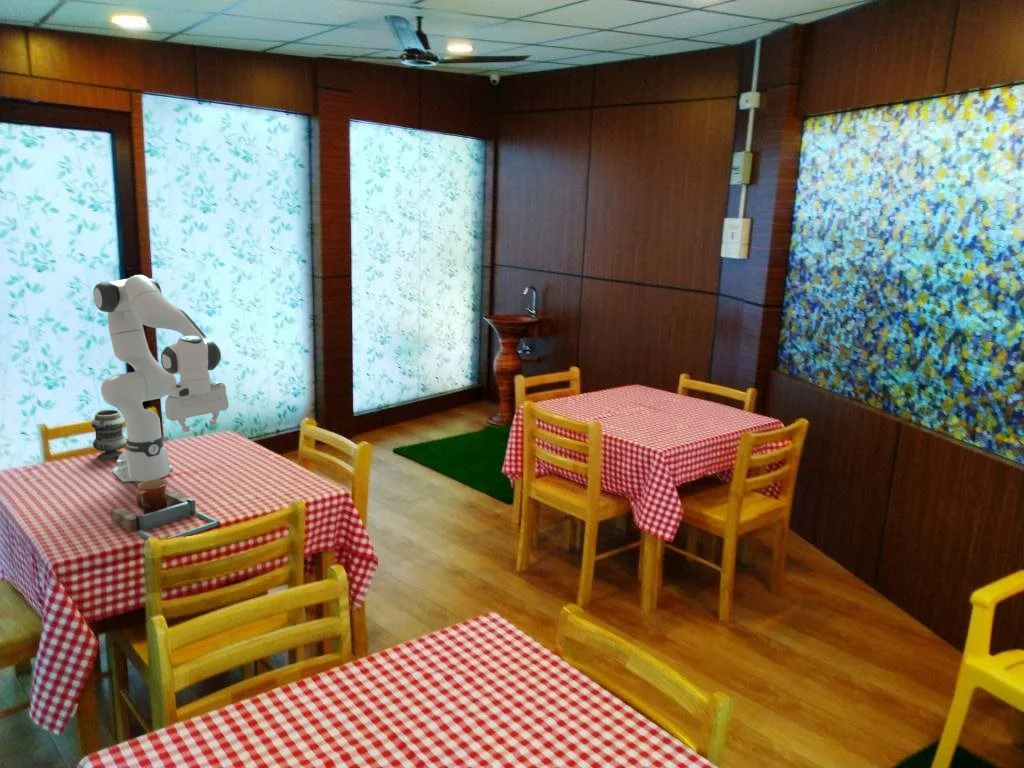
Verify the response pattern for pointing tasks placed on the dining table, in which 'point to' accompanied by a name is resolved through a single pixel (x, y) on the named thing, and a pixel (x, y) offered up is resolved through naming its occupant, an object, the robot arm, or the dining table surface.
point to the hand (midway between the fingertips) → (199, 428)
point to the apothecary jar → (108, 434)
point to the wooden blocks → (129, 519)
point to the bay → (192, 531)
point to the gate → (165, 515)
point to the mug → (152, 495)
